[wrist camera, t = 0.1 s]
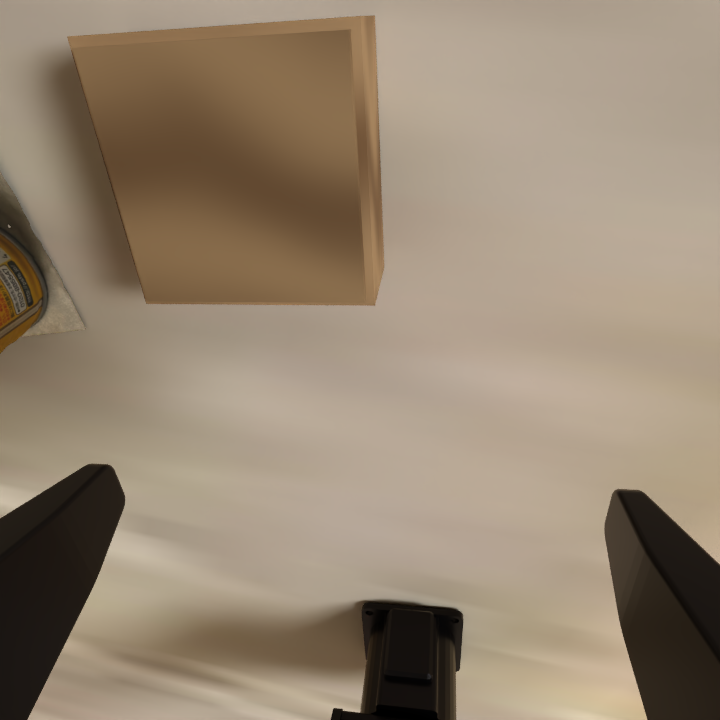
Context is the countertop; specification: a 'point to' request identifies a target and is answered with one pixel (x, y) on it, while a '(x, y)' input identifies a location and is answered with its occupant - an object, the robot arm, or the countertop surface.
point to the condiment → (28, 280)
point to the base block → (243, 158)
